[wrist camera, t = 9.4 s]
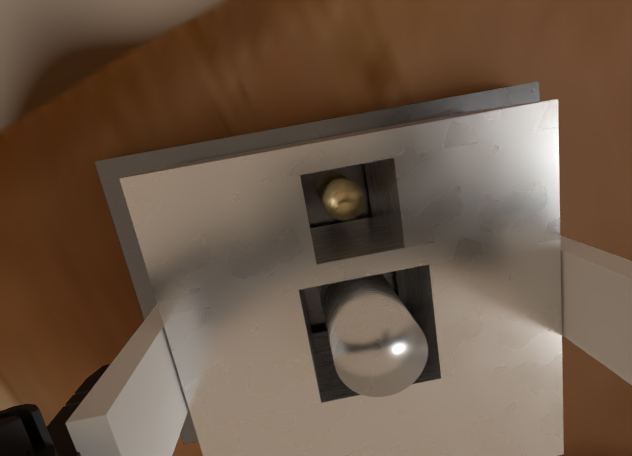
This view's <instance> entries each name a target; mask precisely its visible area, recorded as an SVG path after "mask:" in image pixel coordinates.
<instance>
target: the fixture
mask: <svg viewBox="0 0 632 456" xmlns="http://www.w3.org/2000/svg"><path fill="white" fill-rule="evenodd" d="M533 102H540V100H539V81H538V82H532V83H527V84H521V85H516V86H510V87H505V88H499V89H493V90H488V91H482V92H477V93H471V94H466V95H460V96H455V97H449V98H444V99H438V100H432V101H427V102H421V103H416V104H410V105H405V106H399V107H394V108H388V109H382V110H377V111H371V112H366V113H360V114H355V115H349V116H344V117H338V118H333V119H327V120H321V121H316V122H310V123H305V124H299V125H294V126H288V127H283V128H277V129H271V130H266V131H260V132H255V133H249V134H244V135H238V136H233V137H227V138H221V139H216V140H210V141H205V142H199V143H194V144H188V145H183V146H177V147H172V148H166V149H160V150H155V151H149V152H144V153H138V154H133V155H127V156H122V157H116V158H110V159H105V160H99V161H94V162H95V165H96V168H97V171H98V175H99V178H100V181H101V184H102V187H103V190H104V194H105V197H106V200H107V203H108V206H109V209H110V213H111V216H112V219H113V222H114V225H115V228H116V232H117V235H118V238H119V241H120V244H121V247H122V251H123V254H124V257H125V260H126V263H127V266H128V270H129V273H130V276H131V279H132V282H133V285H134V289H135V292H136V295H137V298H138V301H139V304H140V308H141V311H142V314H143V317H144V320H145V319H146V318H147V316H148V315H149V314H150V312H151V311H152V310H153V308H154V307H155V306H156V305H157V302H156V298H155V295H154V292H153V288H152V285H151V282H150V278H149V275H148V272H147V269H146V265H145V262H144V259H143V255H142V252H141V249H140V245H139V242H138V239H137V235H136V232H135V229H134V226H133V222H132V219H131V216H130V212H129V209H128V206H127V202H126V199H125V196H124V192H123V189H122V186H121V183H120V178H123V177H127V176H131V175H135V174H139V173H143V172H147V171H151V170H155V169H159V168H163V167H167V166H171V165H177V164H182V163H188V162H193V161H199V160H204V159H210V158H216V157H221V156H227V155H232V154H238V153H243V152H249V151H254V150H260V149H265V148H271V147H276V146H282V145H287V144H293V143H298V142H304V141H310V140H315V139H321V138H326V137H332V136H337V135H343V134H348V133H354V132H359V131H365V130H370V129H376V128H381V127H387V126H392V125H398V124H403V123H409V122H415V121H420V120H426V119H431V118H437V117H442V116H448V115H453V114H459V113H464V112H470V111H475V110H481V109H489V108H496V107H503V106H511V105H518V104H525V103H533ZM300 177H301V183H302V188H303V193H304V199H305V204H306V210H307V215H308V221H309V226H310V228H316V227H321V226H326V225H331V224H337V223H342V222H347V221H353V220H358V219H363V218H369V217H372V213H371V206H370V199H369V192H368V185H367V178H366V170H365V163H363V164H357V165H352V166H346V167H341V168H336V169H330V170H325V171H319V172H314V173H308V174H303V175H300ZM303 291H304V296H305V301H306V306H307V311H308V316H309V321H310V326H311V331H312V334H313V333H318V332H323V331H327V332H328V337H329V341H330V346H331V351H332V355H333V360H334V365H335V368H336V372H337V374H338V376H339V378H340V379H341V381H342V382H343V383H344V384H345V385H346V386H347V387H348V388H349V389H351V390H352V391H354V392H356V393H358V394H361V395H364V396H369V397H385V396H390V395H394V394H396V393H399V392H401V391H403V390H404V389H406V388H407V387H409V386H410V385H411V384H412V383H414V382H415V381H416V379H417V378H418V377H419V376H420V374H421V373H422V371H423V369H424V367H425V364H426V361H427V357H428V345H427V340H426V337H425V335H424V333H423V331H422V330H421V328H420V327H419V325H418V324H417V323H416V321H415V320H414V318H413V317H412V316H411V314H410V313H409V311H408V310H407V308H406V307H405V306H404V304H403V303H402V301H401V300H400V298H399V295H398V287H397V279H396V272H395V271H393V272H387V273H382V274H377V275H372V276H367V277H362V278H356V279H351V280H346V281H341V282H336V283H331V284H325V285H320V286H315V287H310V288H305V289H303ZM180 434H181V437H182V441H183V444H187V443H192V442H196V441H199V440H198V437H197V434H196V431H195V427H194V424H193V421H192V417H191V414H190V411H189V410H188V413H187V415H186V418H185V421H184V424H183V427H182V429H181V432H180Z"/></svg>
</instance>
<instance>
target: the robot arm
mask: <svg viewBox="0 0 632 456" xmlns="http://www.w3.org/2000/svg"><path fill="white" fill-rule="evenodd" d="M560 252H561V315H562V335H563V336H564V337H565V338H567V339H568V340H569V341H571V342H572V343H574V344H575V345H576V346H578V347H579V348H581V349H582V350H583V351H585V352H586V353H588V354H589V355H590V356H592V357H593V358H594V359H596V360H597V361H599V362H600V363H601V364H603V365H604V366H606V367H607V368H608V369H610V370H611V371H613V372H614V373H615V374H617V375H618V376H620V377H621V378H622V379H624V380H625V381H626V382H628V383H629V384H631V385H632V261H631V260H628V259H625V258H623V257H620V256H617V255H614V254H611V253H609V252H606V251H603V250H600V249H597V248H595V247H592V246H589V245H586V244H584V243H581V242H578V241H575V240H572V239H570V238H567V237H564V236H561V235H560ZM188 410H189V407H188V404H187V401H186V397H185V394H184V391H183V388H182V384H181V381H180V378H179V374H178V371H177V368H176V364H175V361H174V358H173V354H172V351H171V348H170V345H169V341H168V338H167V335H166V331H165V328H164V325H163V321H162V318H161V315H160V312H159V308H158V305H156V306H155V307H154V308H153V310H152V311H151V312H150V314H149V315H148V316H147V318H146V319H145V320H144V321H143V323H142V324H141V325H140V327H139V328H138V329H137V331H136V332H135V333H134V334H133V336H132V337H131V338H130V340H129V341H128V342H127V344H126V345H125V346H124V347H123V349H122V350H121V351H120V353H119V354H118V355H117V357H116V358H115V359H114V360H113V362H112V363H111V364H110V365H105V366H102V367H101V368H100V369H99V370H97V371H96V372H95V373H93V374H92V375H91V376H89V377H88V378H87V379H86V380H85V381H84V382H83V384H82V385H81V386H80V387H79V388H78V390H77V391H76V392H75V395H73V396H72V397H71V398H70V399H69V401H68V402H67V403H66V406H65V407H63V408H62V409H61V410H60V412H59V413H58V414H57V415H56V416H55V418H54V419H53V420H52V421H51V422H50V424H49V425H48V426H47V427H46V425H45V422H44V420H43V417H42V415H41V413H40V410H39V409H38V407H37V406H36V405H32V404H24V405H19V406H14V407H11V408H8V409H6V410H3V411H0V456H172V455H173V452H174V449H175V446H176V444H177V441H178V438H179V435H180V432H181V429H182V427H183V424H184V421H185V418H186V415H187V413H188Z"/></svg>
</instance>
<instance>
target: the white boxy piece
mask: <svg viewBox="0 0 632 456" xmlns="http://www.w3.org/2000/svg"><path fill="white" fill-rule="evenodd" d="M363 163H365V170H366V178H367V185H368V192H369V199H370V206H371V213H372V217H369V218H363V219H358V220H353V221H347V222H342V223H337V224H331V225H326V226H321V227H316V228H310V226H309V221H308V215H307V210H306V204H305V199H304V193H303V188H302V183H301V177H300V175H303V174H308V173H314V172H319V171H325V170H330V169H336V168H341V167H346V166H352V165H357V164H363ZM120 183H121V186H122V189H123V192H124V196H125V199H126V202H127V206H128V209H129V212H130V216H131V219H132V222H133V226H134V229H135V232H136V235H137V239H138V242H139V245H140V249H141V252H142V255H143V259H144V262H145V265H146V269H147V272H148V275H149V278H150V282H151V285H152V288H153V292H154V295H155V298H156V302H157V305H158V308H159V312H160V315H161V318H162V321H163V325H164V328H165V331H166V335H167V338H168V341H169V345H170V348H171V351H172V354H173V358H174V361H175V364H176V368H177V371H178V374H179V378H180V381H181V384H182V388H183V391H184V394H185V397H186V401H187V404H188V407H189V411H190V414H191V417H192V421H193V424H194V427H195V431H196V434H197V437H198V440H199V444H200V447H201V450H202V454H203V456H558V455H563V454H564V441H563V378H562V315H561V252H560V189H559V126H558V99H555V100H547V101H540V102H533V103H525V104H518V105H511V106H503V107H496V108H489V109H481V110H475V111H470V112H464V113H459V114H453V115H448V116H442V117H437V118H431V119H426V120H420V121H415V122H409V123H403V124H398V125H392V126H387V127H381V128H376V129H370V130H365V131H359V132H354V133H348V134H343V135H337V136H332V137H326V138H321V139H315V140H310V141H304V142H298V143H293V144H287V145H282V146H276V147H271V148H265V149H260V150H254V151H249V152H243V153H238V154H232V155H227V156H221V157H216V158H210V159H204V160H199V161H193V162H188V163H182V164H177V165H171V166H167V167H163V168H159V169H155V170H151V171H147V172H143V173H139V174H135V175H131V176H127V177H123V178H120ZM393 271H395V272H396V279H397V287H398V295H399V298H400V300H401V301H402V303H403V304H404V306H405V307H406V308H407V310H408V311H409V313H410V314H411V316H412V317H413V318H414V320H415V321H416V323H417V324H418V325H419V327H420V328H421V330H422V331H423V333H424V335H425V337H426V340H427V345H428V357H427V361H426V364H425V367H424V369H423V371H422V373H421V374H420V376H419V377H418V378H417V379H416V381H415V382H414V383H412V384H411V385H410V386H409V387H407V388H406V389H404V390H403V391H401V392H399V393H396V394H394V395H390V396H385V397H369V396H364V395H361V394H358V393H356V392H354V391H352V390H351V389H349V388H348V387H347V386H346V385H345V384H344V383H343V382H342V381H341V379H340V378H339V376H338V374H337V372H336V368H335V365H334V360H333V355H332V351H331V346H330V341H329V337H328V332H327V331H323V332H318V333H313V334H312V331H311V326H310V321H309V316H308V311H307V306H306V301H305V296H304V291H303V289H305V288H310V287H315V286H320V285H325V284H331V283H336V282H341V281H346V280H351V279H356V278H362V277H367V276H372V275H377V274H382V273H387V272H393Z"/></svg>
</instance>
